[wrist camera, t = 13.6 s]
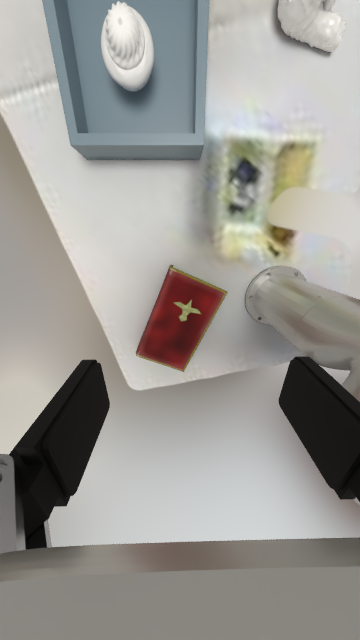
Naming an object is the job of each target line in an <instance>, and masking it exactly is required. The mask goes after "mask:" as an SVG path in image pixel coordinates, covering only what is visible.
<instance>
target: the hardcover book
mask: <svg viewBox="0 0 360 640" xmlns="http://www.w3.org/2000/svg"><path fill="white" fill-rule="evenodd" d="M226 294H227V291H225V290H222V289H221V288H218V287H216V286H214V285H212V284H209V283H207V282H205V281H202V280H200V279H198V278H196V277H193V276H191V275H189V274H187V273H184V272H182V271H180V270H177V269H175V268H173V265H170V267H169V270H168V272H167V275H166V278H165V280H164V283H163V285H162V288H161V290H160V293H159V295H158V298H157V300H156V303H155V305H154V308H153V310H152V313H151V315H150V318H149V320H148V323H147V325H146V328H145V331H144V333H143V336H142V338H141V341H140V343H139V346H138V348H137V351H136V356H138V357H141V358H144V359H147V360H150V361H153V362H156V363H159V364H162V365H165V366H168V367H171V368H174V369H177V370H180V371H183V372H184V370H185V368H186V366H187V365H188V363H189V361H190V359H191V357H192V356H193V354H194V352H195V350H196V348H197V347H198V345H199V343H200V341H201V339H202V338H203V336H204V334H205V332H206V330H207V328H208V327H209V325H210V323H211V321H212V319H213V318H214V316H215V314H216V312H217V310H218V309H219V307H220V305H221V303H222V301H223V300H224V298H225V296H226Z"/></svg>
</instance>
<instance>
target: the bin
mask: <svg viewBox="0 0 360 640" xmlns="http://www.w3.org/2000/svg"><path fill="white" fill-rule="evenodd" d="M42 1H43V7H44V12H45V17H46V22H47V27H48V32H49V37H50V42H51V47H52V52H53V58H54V63H55V68H56V73H57V78H58V83H59V88H60V93H61V98H62V103H63V109H64V114H65V119H66V124H67V129H68V134H69V139H70V144H71V146H72V147H73V148H74V149H76V150H77V151H78V152H79V153H80V154H81V155H83V156H84V157H85V158H86V159H87V160H200V156H201V153H202V149H203V146H204V124H205V97H206V70H207V43H208V16H209V0H42ZM118 1H119V2H121V4H122V3H123V2H124V3H126V4H127V5H128V6H130V7H132V8H133V9H135V10H136V11H137V12H138V13H139V14H140V15H141V16H142V18H143V19H144V20H145V22H146V24H147V26H148V28H149V30H150V33H151V36H152V40H153V46H154V63H153V68H152V71H151V74H150V78H149V79H148V81H147V83H146V84H145V85H144V87H143V88H142V89H141V90H138V91H135V92H133V91H128V90H127V89H124V88H123V87H122V86H120V85H119V84H118V83H117V82H116V81H115V80H114V79H113V78H112V77H111V75H110V74H109V72H108V70H107V68H106V65H105V62H104V59H103V55H102V49H101V34H102V28H103V24H104V21H105V18H106V16H107V15H108V10H111V9H112V4H115V5H116V4H117V2H118Z"/></svg>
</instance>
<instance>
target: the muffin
mask: <svg viewBox="0 0 360 640" xmlns="http://www.w3.org/2000/svg"><path fill="white" fill-rule="evenodd" d="M101 49H102V55H103V59H104V62H105V65H106V68H107V70H108V72H109V74H110V75H111V77H112V78H113V79H114V80H115V81H116V82H117V83H118V84H119V85H120V86H122V87H123V88H124V89H127V90H128V91H133V92H135V91H138V90H141V89H142V88H143V87H144V85H145V84H146V83H147V81H148V79H149V78H150V74H151V71H152V68H153V63H154V46H153V40H152V36H151V33H150V30H149V28H148V26H147V24H146V22H145V20H144V19H143V18H142V16H141V15H140V14H139V13H138V12H137V11H136V10H135V9H133V8H132V7H130V6H128V5H127V4H126V3H124V2H123V3H122V4H121V2H119V1H118V2H117V4H116V5H115V4H112V9H111V10H108V15H107V16H106V18H105V21H104V24H103V28H102V34H101Z"/></svg>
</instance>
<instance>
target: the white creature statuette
mask: <svg viewBox="0 0 360 640" xmlns="http://www.w3.org/2000/svg"><path fill="white" fill-rule="evenodd" d="M334 3H335V0H279V5H278V8H277V11H278V19H279V20H280V22H281V28H282V29H283V30H284V32H285V33H286V35H287V36H289V35H290V36H291V38H295V39H296V40H300V41H301V43H302V42H305V43H308V44H309V45H310V46H311V47H313V46H314V47H315V48H319V49H321V50H323V51H326V52H333V51H335V50H336V48H337V47H338V45H339V44H340V42H341V40H342V34H343V32H344V31H345V27H346V24H345V22H344V19H343V18H342V16H341V15H339V14H338V12H337V11H336V12H332V11H331V7H332V6H333V5H334Z"/></svg>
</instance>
